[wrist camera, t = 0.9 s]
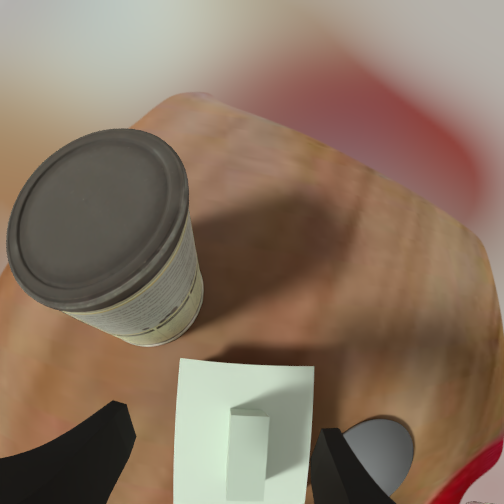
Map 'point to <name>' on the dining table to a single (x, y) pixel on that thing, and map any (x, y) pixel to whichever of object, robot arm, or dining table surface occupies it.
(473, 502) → the white cup
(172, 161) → the coffee can
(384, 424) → the stone
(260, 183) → the dining table surface
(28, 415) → the dining table surface
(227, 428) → the lid
